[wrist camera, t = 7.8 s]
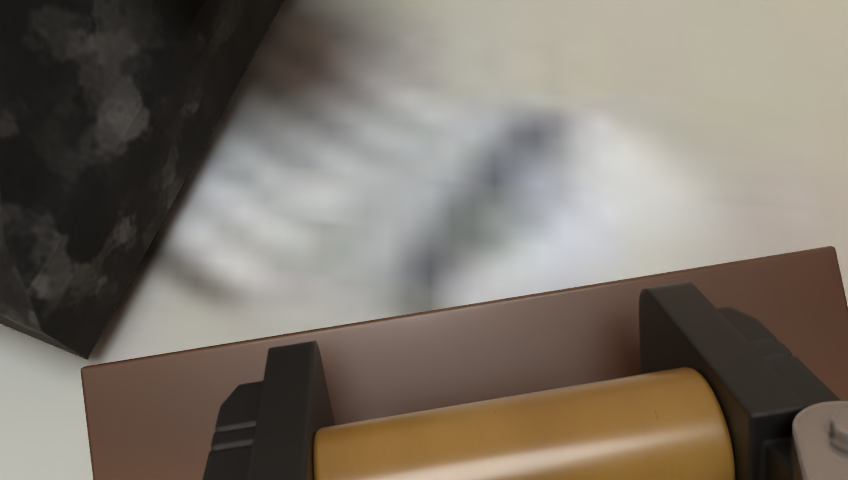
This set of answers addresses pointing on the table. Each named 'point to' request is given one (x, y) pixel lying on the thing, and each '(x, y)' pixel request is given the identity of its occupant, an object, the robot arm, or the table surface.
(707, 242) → the table surface
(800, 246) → the table surface
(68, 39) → the rotary telephone
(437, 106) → the table surface
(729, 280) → the lid
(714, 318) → the robot arm
